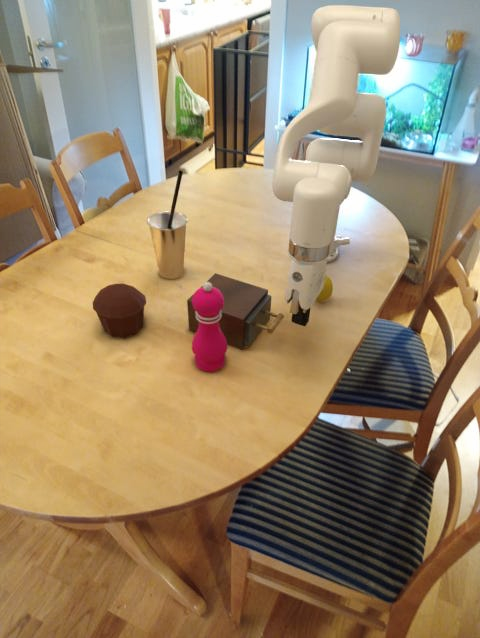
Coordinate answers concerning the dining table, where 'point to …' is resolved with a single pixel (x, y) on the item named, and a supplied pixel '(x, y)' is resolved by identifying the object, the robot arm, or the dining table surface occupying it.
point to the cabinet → (231, 307)
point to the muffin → (120, 309)
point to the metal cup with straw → (169, 238)
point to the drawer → (260, 321)
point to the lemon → (325, 290)
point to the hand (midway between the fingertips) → (299, 322)
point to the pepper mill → (209, 329)
